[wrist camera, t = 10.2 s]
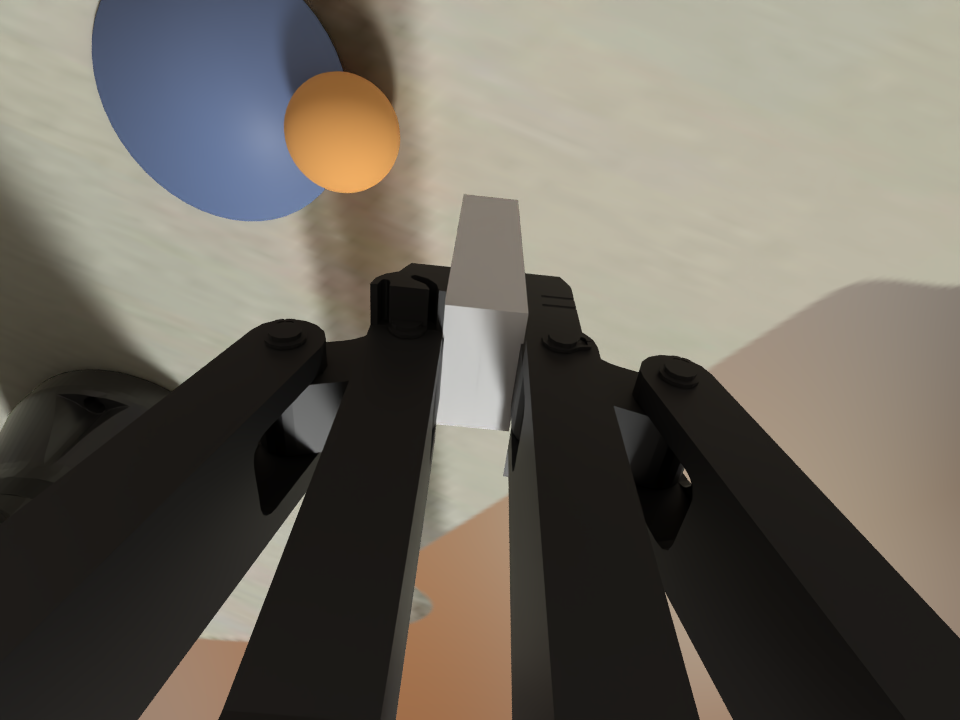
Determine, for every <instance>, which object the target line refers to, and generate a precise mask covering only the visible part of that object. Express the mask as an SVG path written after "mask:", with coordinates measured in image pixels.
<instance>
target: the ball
mask: <svg viewBox="0 0 960 720" xmlns="http://www.w3.org/2000/svg"><path fill="white" fill-rule="evenodd" d="M284 135H285V141H286V145H287V148H288V151H289V153H290V156H291V157H292V159H293V161H294V163H295V164H296V166H297V167H298V168H299V170H300V171H301V172H302V173H303V174H304V175H305V176H306V177H307V178H308V179H310V180H311V181H312V182H314V183H315V184H317V185H319V186H321V187H323V188H325V189H328V190H331V191H334V192H341V193H354V192H359V191H363V190H366V189H368V188H370V187H372V186H374V185H376V184H377V183H379V182H380V181H381V180H382V179H383V178H384V177H385V176H386V175H387V174H388V173H389V171H390V170H391V168H392V167H393V165H394V163H395V160H396V158H397V155H398V151H399V146H400V130H399V123H398V120H397V116H396V114H395V111H394V109H393V107H392V105H391V104H390V102H389V100H388V99H387V97H386V96H385V95H384V94H383V93H382V92H381V90H380V89H379V88H377V87H376V86H375V85H374V84H373V83H371V82H370V81H368V80H366V79H365V78H363V77H360V76H358V75H356V74H353V73H349V72H341V71H333V72H325V73H321V74H318V75H316V76H314V77H312V78H310V79H308V80H307V81H306V82H304V83H303V84H302V85H301V86H300V87H299V88H298V89H297V90H296V91H295V93H294V94H293V96H292V97H291V99H290V101H289V103H288V106H287V109H286V113H285V118H284Z"/></svg>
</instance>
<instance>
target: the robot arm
mask: <svg viewBox="0 0 960 720" xmlns="http://www.w3.org/2000/svg"><path fill="white" fill-rule="evenodd" d="M573 299H574V298H573V294H572V290H571V287H570V286H569V285H568V284H567V283H566V282H565V281H564V280H563V279H561V278H560V277H554V276H545V275H535V274H526V273H525V270H524V259H523V248H522V237H521V227H520V216H519V205H518V200H512V199H503V198H493V197H484V196H475V195H466V194H464V196H463V202H462V208H461V213H460V219H459V225H458V230H457V236H456V241H455V247H454V253H453V258H452V264H451V267H444V266H435V265H425V264H416V263H411V264H409V265H408V266H406V267H405V268H404V269H402V270H401V271H399V272H393V273H386V274H384V275H381V276H379V277H377V278H375V279H374V280H373V281H372V282H371V283H370V307H371V325H370V328H369V330H368V333H367V335H366V336H364V337H360V338H357V339H352V340H345V341H335V342H326V338H325V333H324V331H323V330H322V329H321V328H320V327H319V326H317V325H315V324H312V323H310V322H307V321H302V320H295V319H286V320H284V319H279V320H275V321H272V322H268V323H264V324H261V325H260V326H258V327H256V328H254V329H252V330H251V331H249V332H248V333H247V334H245V335H244V336H243V337H242V338H240V339H239V340H238V341H236V342H235V343H234V344H233V345H231V346H230V347H229V348H227V349H226V350H225V351H223V352H222V353H221V354H220V355H218V356H217V357H216V358H214V359H213V360H212V361H211V362H209V363H208V364H207V365H205V366H204V367H203V368H202V369H200V370H199V371H198V372H196V373H195V374H194V375H192V376H191V377H190V378H189V379H187V380H186V381H185V382H183V383H182V384H181V385H180V386H178V387H177V388H176V389H174V390H173V391H172V392H169V391H168V390H166V389H164V388H162V387H160V386H157V385H155V384H153V383H151V382H148V381H146V380H143V379H140V378H137V377H134V376H130V375H126V374H122V373H117V372H111V371H102V370H81V371H73V372H68V373H63V374H60V375H57V376H55V377H52V378H50V379H48V380H47V381H45V382H44V383H42V384H41V385H39V386H38V387H37V388H36V389H35V390H34V391H32V392H31V393H30V394H29V395H28V396H27V397H25V398H24V399H23V400H22V401H21V402H20V403H19V404H18V405H17V406H16V407H15V408H14V409H13V410H12V412H11V413H10V415H9V416H8V418H7V420H6V422H5V424H4V426H3V428H2V430H1V432H0V720H138V719H139V717H140V716H141V715H142V713H143V712H144V710H145V709H146V708H147V706H148V705H149V704H150V702H151V701H152V700H153V698H154V697H155V696H156V694H157V693H158V692H159V690H160V689H161V688H162V686H163V685H164V683H165V682H166V681H167V680H168V678H169V677H170V675H171V674H172V673H173V671H174V670H175V669H176V667H177V666H178V665H179V663H180V662H181V661H182V659H183V658H184V656H185V655H186V654H187V652H188V651H189V650H190V648H191V647H192V645H193V644H194V643H195V642H196V640H197V639H198V638H199V636H200V635H201V633H202V632H203V631H204V629H205V628H206V627H207V625H208V624H209V623H210V621H211V620H212V619H213V617H214V616H215V615H216V613H217V612H218V610H219V609H220V608H221V606H222V605H223V604H224V602H225V601H226V600H227V598H228V597H229V596H230V594H231V593H232V592H233V590H234V589H235V587H236V586H237V585H238V583H239V582H240V581H241V579H242V578H243V577H244V575H245V574H246V573H247V571H248V570H249V569H250V567H251V566H252V564H253V563H254V562H255V560H256V559H257V558H258V556H259V555H260V554H261V552H262V551H263V550H264V548H265V547H266V545H267V544H268V543H269V541H270V540H271V539H272V537H273V536H274V535H275V533H276V532H277V531H278V529H279V528H280V527H281V525H282V524H283V522H284V521H285V520H286V518H287V517H288V516H289V514H290V513H291V512H292V510H293V509H294V508H295V506H296V505H297V504H298V502H299V501H300V499H301V498H302V497H303V495H304V494H305V493H306V494H305V497H304V499H303V502H302V505H301V507H300V510H299V512H298V515H297V518H296V520H295V523H294V525H293V528H292V531H291V533H290V536H289V539H288V541H287V544H286V546H285V549H284V552H283V554H282V557H281V559H280V562H279V565H278V567H277V570H276V572H275V575H274V578H273V580H272V583H271V585H270V588H269V591H268V593H267V596H266V598H265V601H264V604H263V606H262V609H261V611H260V614H259V617H258V619H257V622H256V624H255V627H254V630H253V632H252V635H251V637H250V640H249V643H248V645H247V648H246V650H245V654H244V656H243V658H242V661H241V664H240V666H239V669H238V672H237V674H236V677H235V679H234V682H233V684H232V687H231V690H230V692H229V695H228V697H227V700H226V703H225V705H224V708H223V710H222V713H221V715H220V717H219V719H218V720H396V714H397V705H398V698H399V692H400V685H401V678H402V671H403V664H404V656H405V649H406V642H407V635H408V628H409V621H410V614H411V607H412V599H413V592H414V585H415V578H416V571H417V563H418V556H419V549H420V542H421V535H422V528H423V521H424V514H425V507H426V500H427V492H428V485H429V478H430V471H431V464H432V457H433V450H434V443H435V430H436V424H440V425H450V426H460V427H471V428H481V429H491V430H502V431H509V427H510V421H511V424H512V427H511V433H510V439H509V445H508V451H507V457H506V463H505V468H504V474H503V476H506V477H508V478H509V538H510V542H509V543H510V606H511V665H512V667H511V669H512V671H511V672H512V720H700V719H699V715H698V712H697V708H696V704H695V701H694V698H693V693H692V690H691V686H690V682H689V679H688V675H687V672H686V668H685V664H684V661H683V657H682V653H681V650H680V646H679V642H678V639H677V635H676V632H675V628H674V624H673V620H672V617H671V614H670V610H669V606H668V602H667V599H666V595H665V592H666V594H667V596H668V598H669V600H670V602H671V604H672V606H673V608H674V609H675V611H676V613H677V615H678V617H679V619H680V621H681V623H682V624H683V626H684V628H685V630H686V632H687V634H688V636H689V638H690V640H691V641H692V643H693V645H694V647H695V649H696V651H697V653H698V655H699V656H700V658H701V660H702V662H703V664H704V666H705V668H706V670H707V671H708V673H709V675H710V677H711V679H712V681H713V683H714V685H715V686H716V688H717V690H718V692H719V694H720V696H721V698H722V699H723V702H724V703H725V705H726V707H727V709H728V711H729V713H730V715H731V716H732V718H733V720H960V638H959V637H958V636H957V635H956V634H955V633H954V632H953V631H952V630H951V629H950V627H949V626H948V625H947V624H946V623H945V622H944V621H943V620H942V619H941V618H940V617H939V616H938V615H937V614H936V613H935V612H934V610H933V609H932V608H931V607H930V606H929V605H928V604H927V603H926V602H925V601H924V600H923V599H922V598H921V597H920V596H919V594H918V593H917V592H916V591H915V590H914V589H913V588H912V587H911V586H910V585H909V584H908V583H907V582H906V581H905V580H904V579H903V577H902V576H900V574H899V573H898V572H897V571H896V570H895V569H894V568H893V567H892V566H891V565H890V564H889V563H888V562H887V560H885V558H884V557H883V556H882V555H881V554H880V553H879V552H878V551H877V550H876V549H875V548H874V547H873V546H872V544H871V543H869V541H868V540H867V539H866V538H865V537H864V536H863V535H862V534H861V533H860V532H859V531H858V530H857V529H856V528H855V526H854V525H853V524H852V523H851V522H850V521H849V520H848V519H847V518H846V517H845V516H844V515H843V514H842V513H841V512H840V511H839V509H837V507H836V506H835V505H834V504H833V503H832V502H831V501H830V500H829V499H828V498H827V497H826V496H825V495H824V494H823V492H822V491H821V490H820V489H819V488H818V487H817V486H816V485H815V484H814V483H813V482H812V481H811V480H810V479H809V478H808V476H807V475H806V474H805V473H804V472H803V471H802V470H801V469H800V468H799V467H798V466H797V465H796V464H795V463H794V462H793V460H792V459H791V458H790V457H789V456H788V455H787V454H786V453H785V452H784V451H783V450H782V449H781V448H780V447H779V446H778V444H776V443H775V441H774V440H773V439H772V438H771V437H770V436H769V435H768V434H767V433H766V432H765V431H764V430H763V429H762V427H761V426H759V424H758V423H757V422H756V421H755V420H754V419H753V418H752V417H751V416H750V415H749V414H748V413H747V412H746V411H745V410H744V408H743V407H742V406H741V405H740V404H739V403H738V402H737V401H736V400H735V399H734V398H733V397H732V396H731V395H730V393H728V392H727V390H726V389H725V388H724V387H723V386H722V385H721V384H720V383H719V382H718V381H717V380H716V379H715V377H714V376H713V375H712V374H710V373H709V372H708V371H707V370H705V369H704V368H703V367H702V366H700V365H698V364H696V363H693V362H691V361H690V360H688V359H685V358H680V357H678V356H666V355H658V356H652V357H648V358H647V359H645V360H644V361H642V363H641V367H640V370H639V372H636V371H632V370H629V369H625V368H622V367H618V366H616V365H613V364H610V363H608V362H606V361H604V360H602V359H601V358H600V354H599V351H598V347H597V346H596V344H595V342H594V341H593V340H592V339H591V338H590V337H588V336H587V335H585V334H584V333H582V330H581V326H580V322H579V318H578V314H577V310H576V306H575V302H574V300H573ZM684 468H685V469H686V471H687V473H688V475H689V477H690V480H691V483H690V482H689V481H688V480H687V478H686V477H685V475H684V474H683V471H684ZM306 491H307V492H306Z"/></svg>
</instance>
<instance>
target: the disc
mask: <svg viewBox="0 0 960 720" xmlns="http://www.w3.org/2000/svg"><path fill="white" fill-rule="evenodd" d="M92 60H93V70H94V76H95V80H96V84H97V89H98V92H99V95H100V98H101V101H102V104H103V107H104V110H105V112H106V114H107V116H108V118H109V120H110V123H111V125H112V127H113V128H114V130H115V132H116V133H117V135H118V137H119V139H120V140H121V142H122V143H123V145H124V146H125V147H126V149H127V150H128V152H129V153H130V154H131V156H132V157H133V158H134V159H135V160H136V162H137V163H138V164H139V165H140V166H141V167H142V168H143V170H144V171H145V172H146V173H148V174H149V175H150V176H151V177H152V178H153V179H154V180H155V181H156V182H157V183H158V184H160V185H161V186H162V187H163V188H165V189H166V190H167V191H169V192H170V193H171V194H173V195H174V196H176V197H178V198H179V199H181V200H182V201H184V202H186V203H188V204H190V205H192V206H194V207H196V208H198V209H200V210H202V211H205V212H207V213H210V214H213V215H216V216H220V217H224V218H228V219H233V220H241V221H264V220H272V219H276V218H280V217H283V216H287V215H289V214H291V213H294V212H296V211H298V210H300V209H302V208H303V207H305V206H306V205H308V204H309V203H311V202H312V201H313V200H314V199H315V198H317V197H318V196H319V195H320V194H321V193H322V192H323V191H324V189H325V188H323V187H321V186H319V185H317V184H315V183H314V182H312V181H311V180H310V179H308V178H307V177H306V176H305V175H304V174H303V173H302V172H301V171H300V170H299V168H298V167H297V166H296V164H295V163H294V161H293V159H292V157H291V156H290V153H289V151H288V148H287V145H286V141H285V135H284V118H285V113H286V109H287V106H288V103H289V101H290V99H291V97H292V96H293V94H294V93H295V91H296V90H297V89H298V88H299V87H300V86H301V85H302V84H303V83H304V82H306V81H307V80H308V79H310V78H312V77H314V76H316V75H318V74H321V73H325V72H333V71H341V72H344V71H343V68H342V66H341V63H340V60H339V57H338V55H337V52H336V50H335V48H334V46H333V44H332V42H331V40H330V38H329V36H328V34H327V32H326V31H325V29H324V27H323V26H322V24H321V23H320V21H319V20H318V18H317V16H316V15H315V14H314V13H313V11H312V10H311V9H310V8H309V6H308V5H307V4H306V3H305V1H304V0H101V2H100V4H99V8H98V11H97V14H96V17H95V22H94V28H93V35H92Z"/></svg>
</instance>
